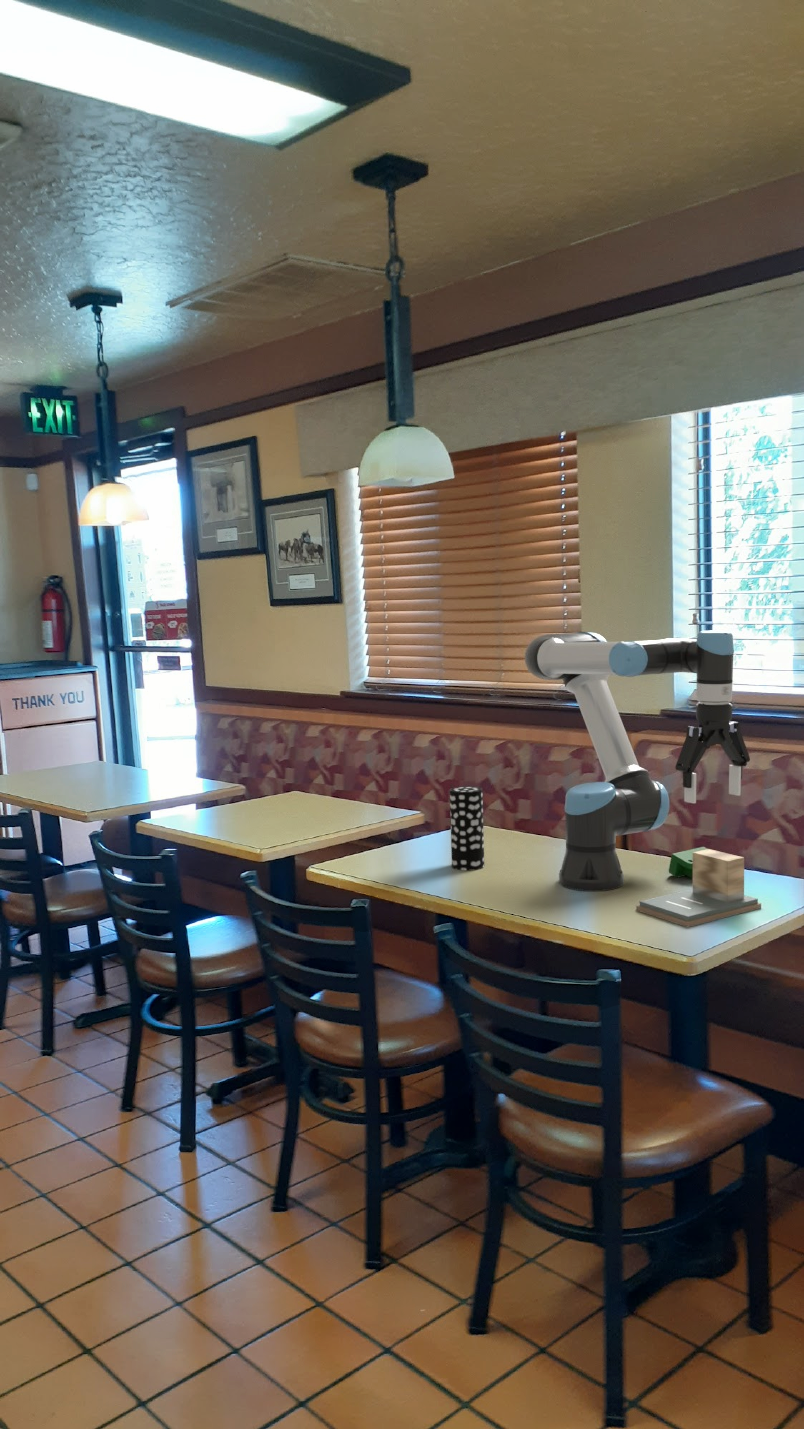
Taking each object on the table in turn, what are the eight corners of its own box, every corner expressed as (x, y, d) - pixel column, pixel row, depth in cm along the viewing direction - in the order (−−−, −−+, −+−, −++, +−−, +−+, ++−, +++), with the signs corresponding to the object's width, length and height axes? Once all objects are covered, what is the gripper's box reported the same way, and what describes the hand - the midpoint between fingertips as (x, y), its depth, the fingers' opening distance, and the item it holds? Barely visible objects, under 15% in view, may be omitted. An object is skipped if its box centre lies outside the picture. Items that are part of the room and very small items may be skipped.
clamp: (689, 897, 256) (685, 868, 251) (670, 886, 260) (666, 857, 256) (724, 871, 260) (720, 842, 256) (705, 861, 265) (702, 832, 260)
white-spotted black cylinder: (479, 871, 268) (477, 792, 266) (447, 869, 271) (445, 791, 269) (487, 863, 276) (486, 786, 274) (456, 861, 279) (454, 786, 277)
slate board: (636, 910, 232) (636, 901, 232) (707, 892, 243) (707, 884, 243) (688, 927, 219) (688, 917, 219) (761, 907, 230) (761, 898, 230)
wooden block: (692, 892, 237) (692, 852, 236) (708, 888, 240) (708, 848, 239) (727, 902, 228) (728, 861, 227) (744, 898, 231) (744, 857, 230)
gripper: (684, 708, 223) (683, 808, 226) (767, 699, 235) (765, 794, 238) (659, 705, 229) (658, 802, 232) (741, 696, 242) (739, 788, 244)
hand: (712, 798), depth 235 cm, fingers open, 13 cm apart
